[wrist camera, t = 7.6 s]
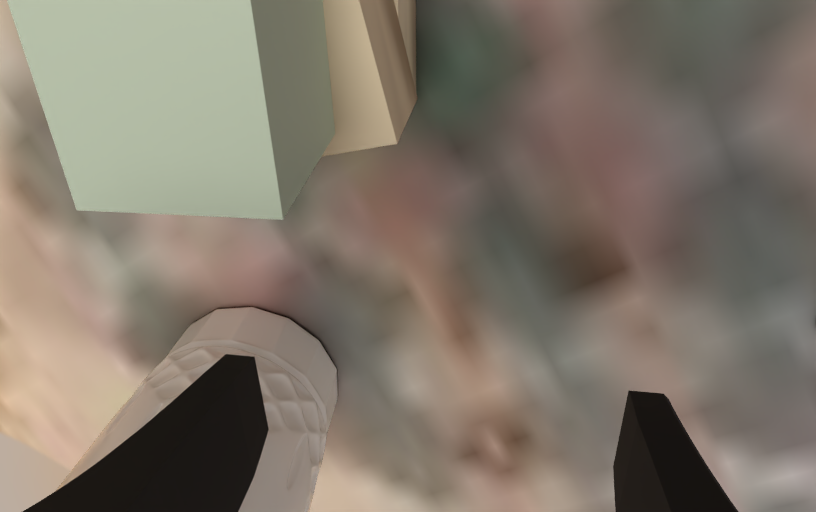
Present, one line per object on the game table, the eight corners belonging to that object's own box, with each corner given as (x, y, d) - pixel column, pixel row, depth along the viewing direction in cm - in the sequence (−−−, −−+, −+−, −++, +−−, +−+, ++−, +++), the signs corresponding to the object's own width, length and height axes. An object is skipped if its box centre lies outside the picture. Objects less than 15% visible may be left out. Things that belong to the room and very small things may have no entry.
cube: (317, -59, 13) (248, -18, 10) (335, 133, 16) (282, 219, 12) (127, -57, 14) (2, -17, 11) (170, 128, 16) (76, 209, 13)
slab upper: (354, -164, 15) (316, -159, 12) (417, 98, 18) (397, 143, 15) (122, -94, 16) (47, -78, 14) (215, 135, 19) (167, 182, 17)
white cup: (133, 318, 28) (-41, 532, 20) (296, 269, 25) (175, 494, 17) (232, 449, 31) (121, 678, 23) (385, 419, 29) (321, 666, 20)
